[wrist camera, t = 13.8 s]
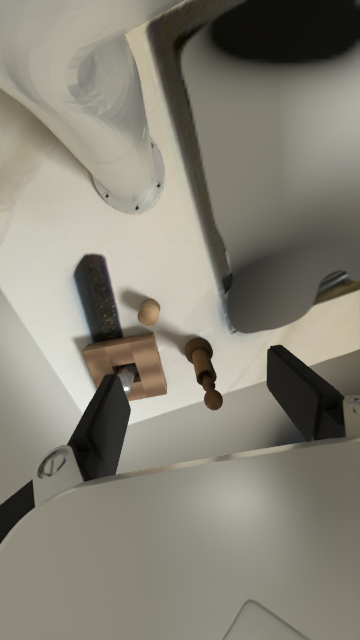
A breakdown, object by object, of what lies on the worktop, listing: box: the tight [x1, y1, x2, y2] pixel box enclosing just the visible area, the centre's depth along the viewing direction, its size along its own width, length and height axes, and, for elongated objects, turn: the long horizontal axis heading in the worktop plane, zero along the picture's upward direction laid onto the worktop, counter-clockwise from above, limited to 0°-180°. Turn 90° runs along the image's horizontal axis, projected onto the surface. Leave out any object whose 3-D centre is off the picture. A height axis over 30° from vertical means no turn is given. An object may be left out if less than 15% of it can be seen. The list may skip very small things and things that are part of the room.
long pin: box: [117, 362, 137, 397], centre depth 41 cm, size 4×4×9 cm
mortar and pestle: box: [185, 338, 223, 410], centre depth 36 cm, size 7×6×18 cm
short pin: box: [138, 300, 160, 326], centre depth 38 cm, size 4×4×5 cm
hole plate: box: [82, 332, 167, 401], centre depth 43 cm, size 16×16×4 cm
